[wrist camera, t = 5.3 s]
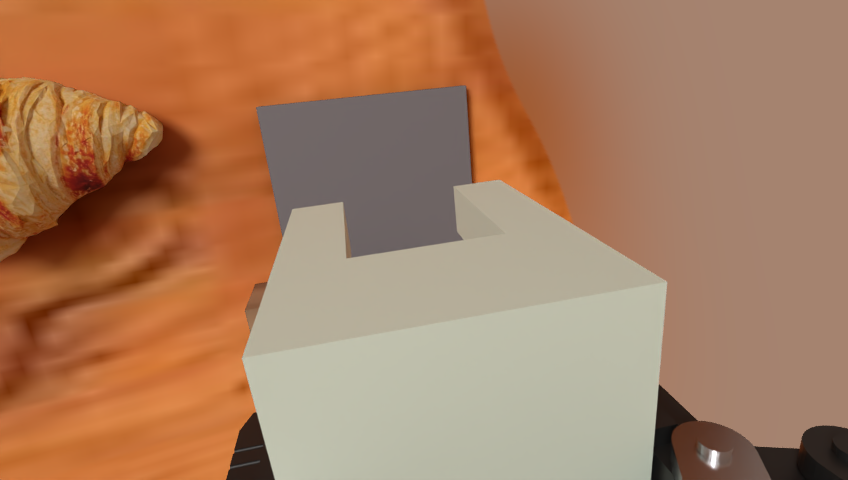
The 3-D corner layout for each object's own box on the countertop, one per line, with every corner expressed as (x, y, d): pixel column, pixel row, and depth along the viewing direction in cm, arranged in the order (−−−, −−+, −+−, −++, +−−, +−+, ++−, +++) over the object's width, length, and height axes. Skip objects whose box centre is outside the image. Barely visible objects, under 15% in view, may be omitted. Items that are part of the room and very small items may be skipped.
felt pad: (474, 269, 35) (477, 272, 34) (296, 297, 33) (295, 301, 32) (463, 85, 30) (466, 85, 30) (257, 106, 29) (256, 107, 28)
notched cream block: (499, 179, 14) (667, 281, 7) (509, 402, 17) (637, 638, 10) (292, 209, 13) (242, 358, 6) (338, 437, 16) (341, 723, 9)
